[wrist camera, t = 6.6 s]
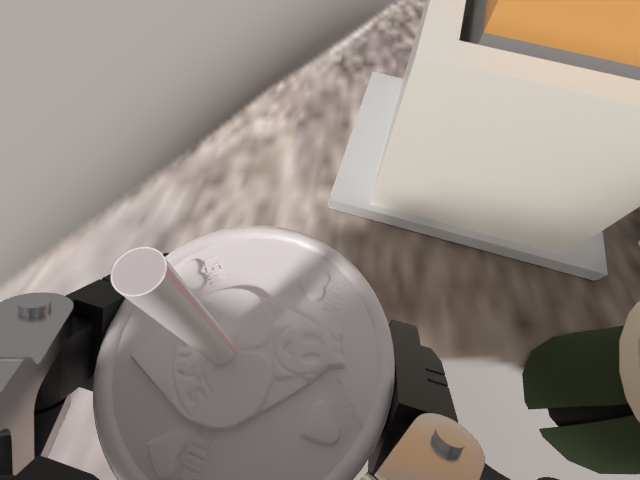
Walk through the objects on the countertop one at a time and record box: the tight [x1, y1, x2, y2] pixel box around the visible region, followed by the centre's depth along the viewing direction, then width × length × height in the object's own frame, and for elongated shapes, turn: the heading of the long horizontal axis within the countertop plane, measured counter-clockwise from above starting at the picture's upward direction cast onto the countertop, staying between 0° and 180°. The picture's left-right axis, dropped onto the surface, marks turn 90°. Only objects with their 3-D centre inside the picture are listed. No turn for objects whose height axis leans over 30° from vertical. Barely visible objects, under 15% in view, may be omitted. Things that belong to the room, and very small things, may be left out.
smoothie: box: [93, 226, 395, 480], centre depth 10 cm, size 6×6×14 cm
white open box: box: [328, 0, 640, 281], centre depth 20 cm, size 17×13×11 cm
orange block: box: [459, 0, 640, 81], centre depth 17 cm, size 7×7×8 cm
